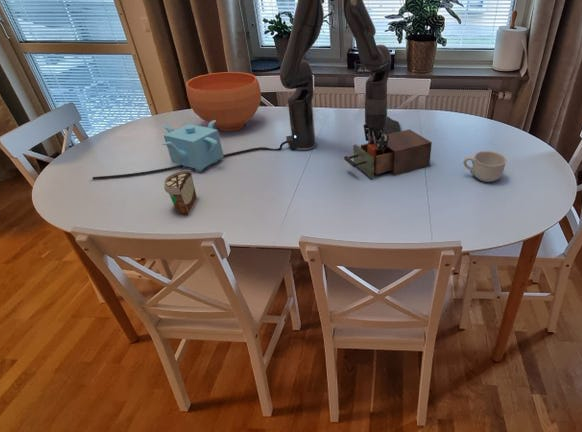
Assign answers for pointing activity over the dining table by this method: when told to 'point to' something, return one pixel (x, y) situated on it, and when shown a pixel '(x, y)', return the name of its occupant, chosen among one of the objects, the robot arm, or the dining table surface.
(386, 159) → the drawer
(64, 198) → the dining table surface
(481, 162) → the teacup
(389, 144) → the cabinet
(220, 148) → the teakettle
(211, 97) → the bowl
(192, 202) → the brown and cream wedge
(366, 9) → the robot arm
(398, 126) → the dark slate chunk
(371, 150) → the block
